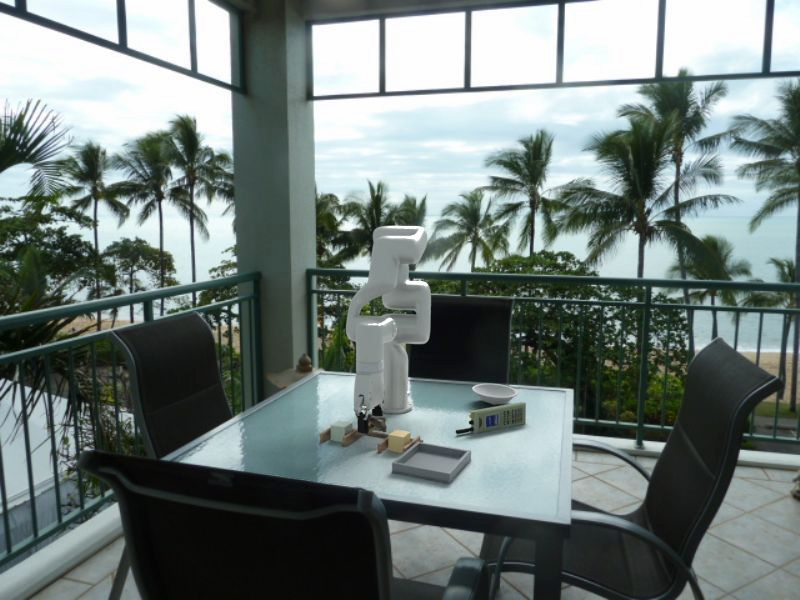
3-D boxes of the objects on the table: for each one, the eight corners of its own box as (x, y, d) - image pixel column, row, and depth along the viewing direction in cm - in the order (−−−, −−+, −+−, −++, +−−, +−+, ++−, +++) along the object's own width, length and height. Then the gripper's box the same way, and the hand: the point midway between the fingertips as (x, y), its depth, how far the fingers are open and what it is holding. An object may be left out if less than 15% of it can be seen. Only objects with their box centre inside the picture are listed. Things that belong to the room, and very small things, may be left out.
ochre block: (395, 445, 164) (395, 429, 163) (410, 447, 162) (410, 432, 161) (388, 450, 160) (388, 434, 159) (403, 453, 158) (403, 437, 157)
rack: (341, 429, 176) (341, 420, 176) (423, 442, 165) (423, 434, 165) (320, 442, 165) (319, 433, 165) (405, 457, 155) (405, 448, 154)
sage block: (338, 435, 171) (338, 420, 171) (352, 437, 169) (352, 422, 169) (330, 440, 167) (330, 425, 167) (344, 442, 165) (344, 427, 165)
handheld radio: (527, 424, 182) (460, 438, 170) (520, 422, 185) (453, 435, 173) (527, 403, 181) (460, 415, 169) (520, 401, 184) (453, 412, 172)
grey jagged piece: (366, 441, 160) (366, 419, 158) (354, 430, 165) (354, 409, 163) (390, 432, 165) (391, 410, 162) (378, 422, 169) (378, 401, 167)
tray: (417, 450, 160) (417, 441, 159) (470, 459, 153) (471, 450, 153) (392, 472, 145) (392, 462, 145) (449, 484, 139) (449, 473, 139)
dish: (526, 409, 196) (527, 394, 196) (488, 414, 191) (489, 399, 190) (499, 395, 212) (499, 381, 212) (463, 399, 207) (463, 385, 207)
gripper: (372, 357, 171) (372, 416, 174) (341, 372, 156) (342, 436, 158) (395, 360, 168) (395, 420, 171) (367, 375, 153) (367, 440, 155)
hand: (370, 427), depth 165 cm, fingers closed on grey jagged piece, 7 cm apart
